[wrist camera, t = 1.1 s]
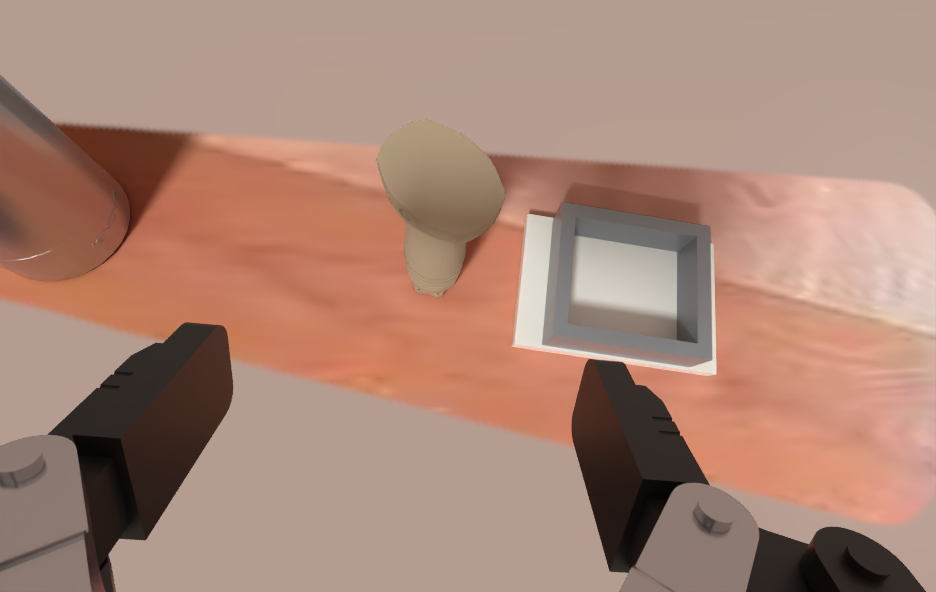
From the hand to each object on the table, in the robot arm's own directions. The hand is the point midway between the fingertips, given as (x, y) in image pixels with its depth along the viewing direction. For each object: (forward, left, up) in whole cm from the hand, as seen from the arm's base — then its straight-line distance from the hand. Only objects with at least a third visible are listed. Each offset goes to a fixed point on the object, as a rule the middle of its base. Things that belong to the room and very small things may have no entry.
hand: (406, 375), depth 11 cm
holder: (+14, +12, -25) cm, 31 cm away
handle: (0, +11, -25) cm, 27 cm away
